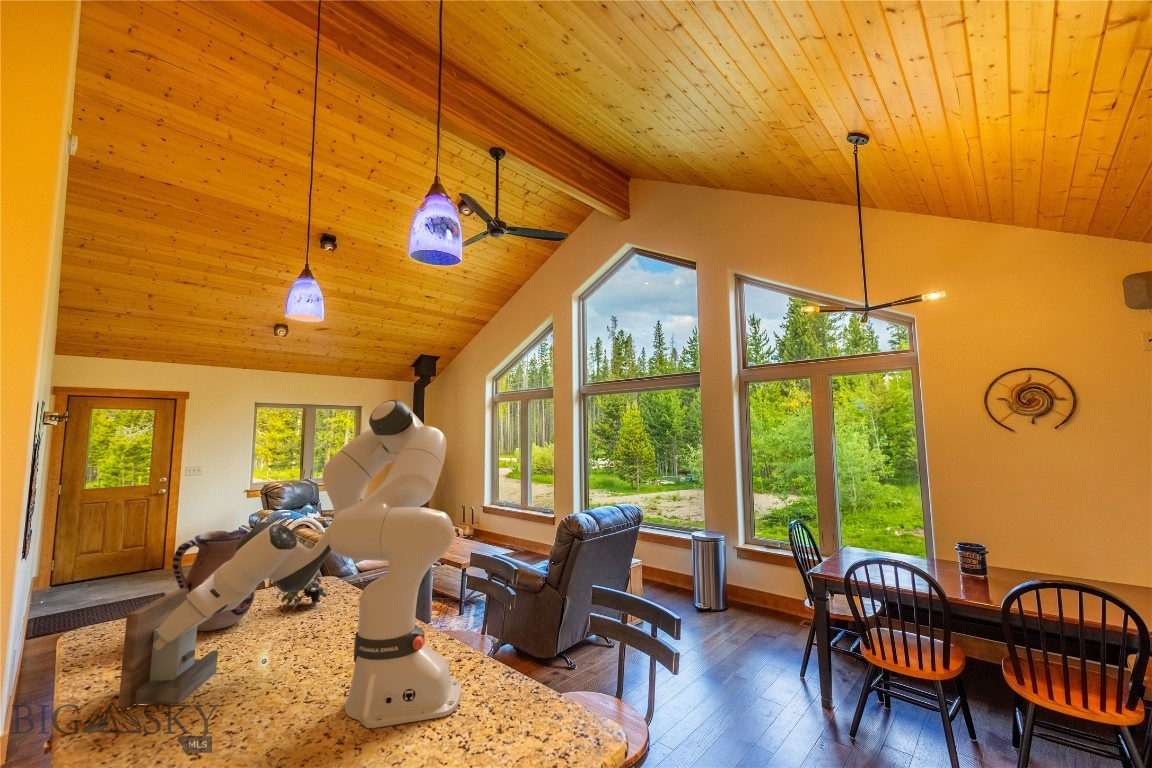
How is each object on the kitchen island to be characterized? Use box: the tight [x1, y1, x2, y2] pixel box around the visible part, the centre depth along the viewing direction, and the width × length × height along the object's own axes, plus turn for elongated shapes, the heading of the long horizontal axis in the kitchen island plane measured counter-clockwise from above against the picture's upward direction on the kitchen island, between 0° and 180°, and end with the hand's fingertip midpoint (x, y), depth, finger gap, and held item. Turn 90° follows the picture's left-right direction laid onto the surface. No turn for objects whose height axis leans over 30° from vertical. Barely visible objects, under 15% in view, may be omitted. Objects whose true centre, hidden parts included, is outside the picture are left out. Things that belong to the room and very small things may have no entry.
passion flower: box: [276, 576, 328, 612], centre depth 156 cm, size 11×11×12 cm
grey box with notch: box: [149, 626, 198, 681], centre depth 107 cm, size 6×6×10 cm
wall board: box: [117, 588, 219, 710], centre depth 107 cm, size 10×16×18 cm, turn 8°
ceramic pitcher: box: [172, 529, 256, 632], centre depth 140 cm, size 18×21×25 cm
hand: (172, 637), depth 107 cm, fingers open, 8 cm apart
